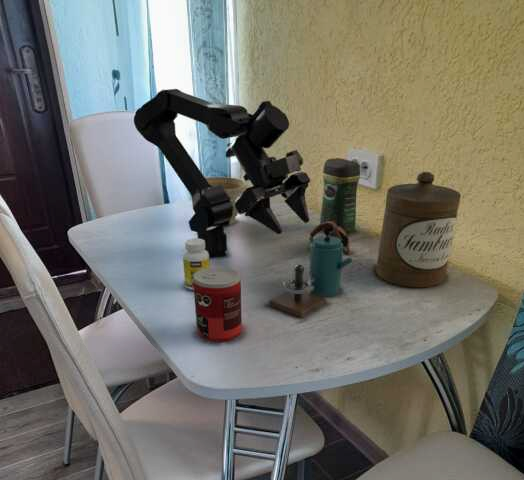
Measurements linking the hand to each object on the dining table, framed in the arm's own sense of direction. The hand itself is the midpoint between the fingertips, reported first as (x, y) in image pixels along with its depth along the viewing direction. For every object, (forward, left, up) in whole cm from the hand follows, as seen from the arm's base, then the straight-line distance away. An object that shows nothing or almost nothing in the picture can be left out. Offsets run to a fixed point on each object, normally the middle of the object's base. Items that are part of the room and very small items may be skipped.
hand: (294, 227), depth 104 cm
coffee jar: (+20, +30, -12) cm, 38 cm away
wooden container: (+26, -3, -12) cm, 29 cm away
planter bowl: (-11, +44, -12) cm, 47 cm away
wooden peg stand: (-2, -13, -12) cm, 17 cm away
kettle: (+2, -11, -12) cm, 16 cm away
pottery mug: (+13, +15, -12) cm, 23 cm away
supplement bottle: (-21, 0, -12) cm, 24 cm away
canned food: (-19, -21, -12) cm, 30 cm away
